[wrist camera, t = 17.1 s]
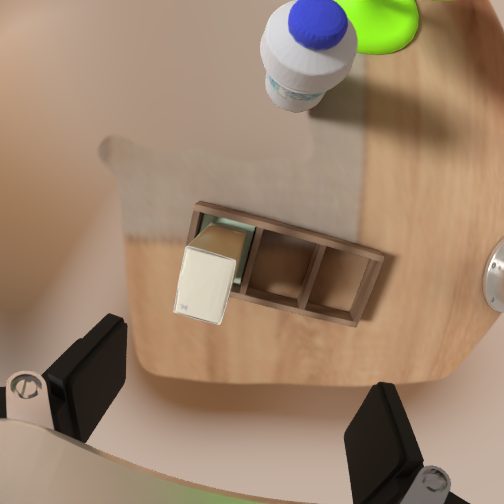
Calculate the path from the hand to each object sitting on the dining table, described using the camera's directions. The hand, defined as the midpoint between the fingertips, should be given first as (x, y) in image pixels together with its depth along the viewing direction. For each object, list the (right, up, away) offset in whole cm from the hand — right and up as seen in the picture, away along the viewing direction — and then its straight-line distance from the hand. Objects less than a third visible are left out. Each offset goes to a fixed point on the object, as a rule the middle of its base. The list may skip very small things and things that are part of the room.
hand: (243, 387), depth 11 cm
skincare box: (-3, +5, +27) cm, 27 cm away
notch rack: (+4, +3, +27) cm, 28 cm away
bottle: (+5, +23, +22) cm, 32 cm away
